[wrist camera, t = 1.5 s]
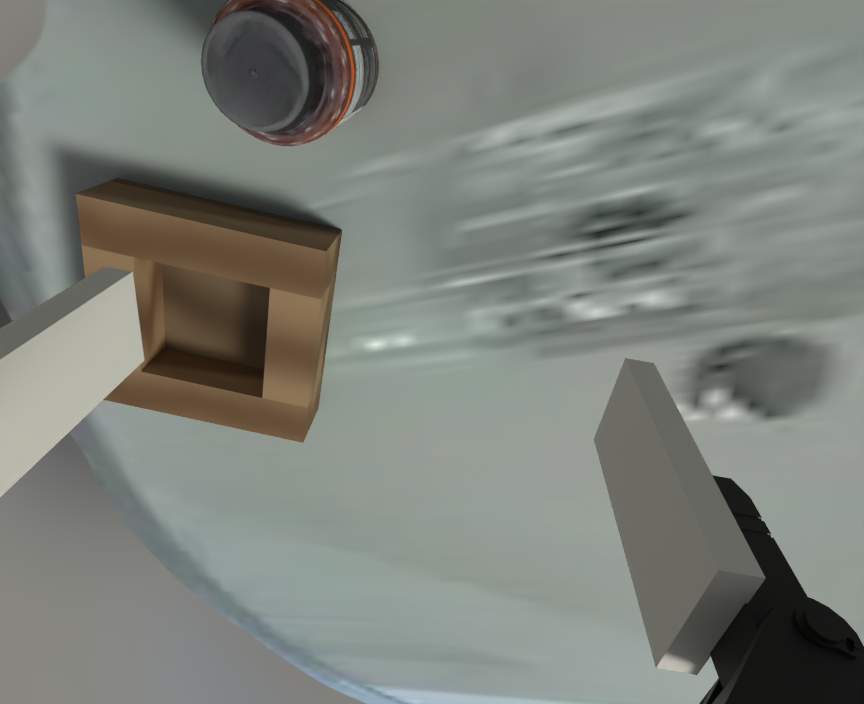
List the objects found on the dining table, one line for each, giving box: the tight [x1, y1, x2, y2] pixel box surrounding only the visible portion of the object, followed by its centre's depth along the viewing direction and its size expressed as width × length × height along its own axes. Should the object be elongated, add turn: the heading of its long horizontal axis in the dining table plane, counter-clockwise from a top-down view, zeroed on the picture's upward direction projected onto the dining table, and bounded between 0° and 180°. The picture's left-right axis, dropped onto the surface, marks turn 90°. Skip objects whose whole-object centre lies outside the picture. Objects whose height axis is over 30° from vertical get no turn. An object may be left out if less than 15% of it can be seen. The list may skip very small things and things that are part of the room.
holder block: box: [75, 178, 342, 442], centre depth 36 cm, size 14×14×4 cm
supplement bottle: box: [201, 0, 379, 146], centre depth 25 cm, size 6×6×11 cm
